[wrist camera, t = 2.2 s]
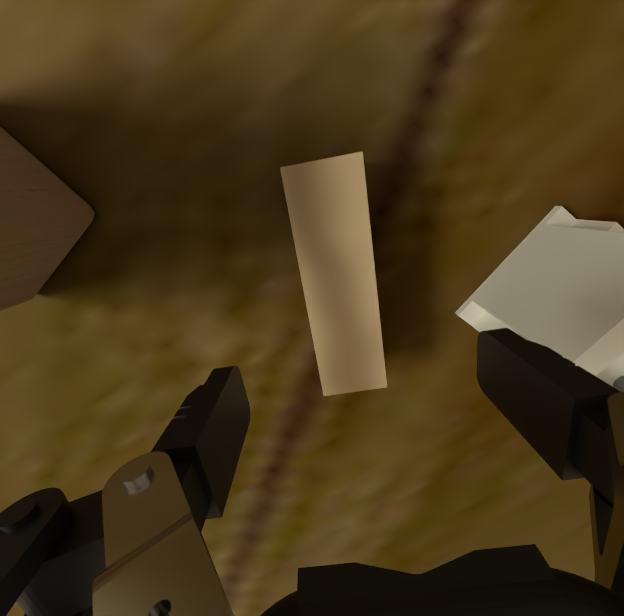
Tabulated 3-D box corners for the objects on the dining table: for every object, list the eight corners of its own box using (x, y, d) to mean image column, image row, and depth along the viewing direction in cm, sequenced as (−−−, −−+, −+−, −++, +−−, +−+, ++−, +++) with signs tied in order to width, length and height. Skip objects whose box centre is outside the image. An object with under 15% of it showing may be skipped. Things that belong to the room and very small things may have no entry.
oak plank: (351, 162, 21) (362, 151, 16) (373, 352, 26) (387, 387, 21) (287, 174, 21) (279, 167, 16) (322, 360, 26) (323, 396, 21)
